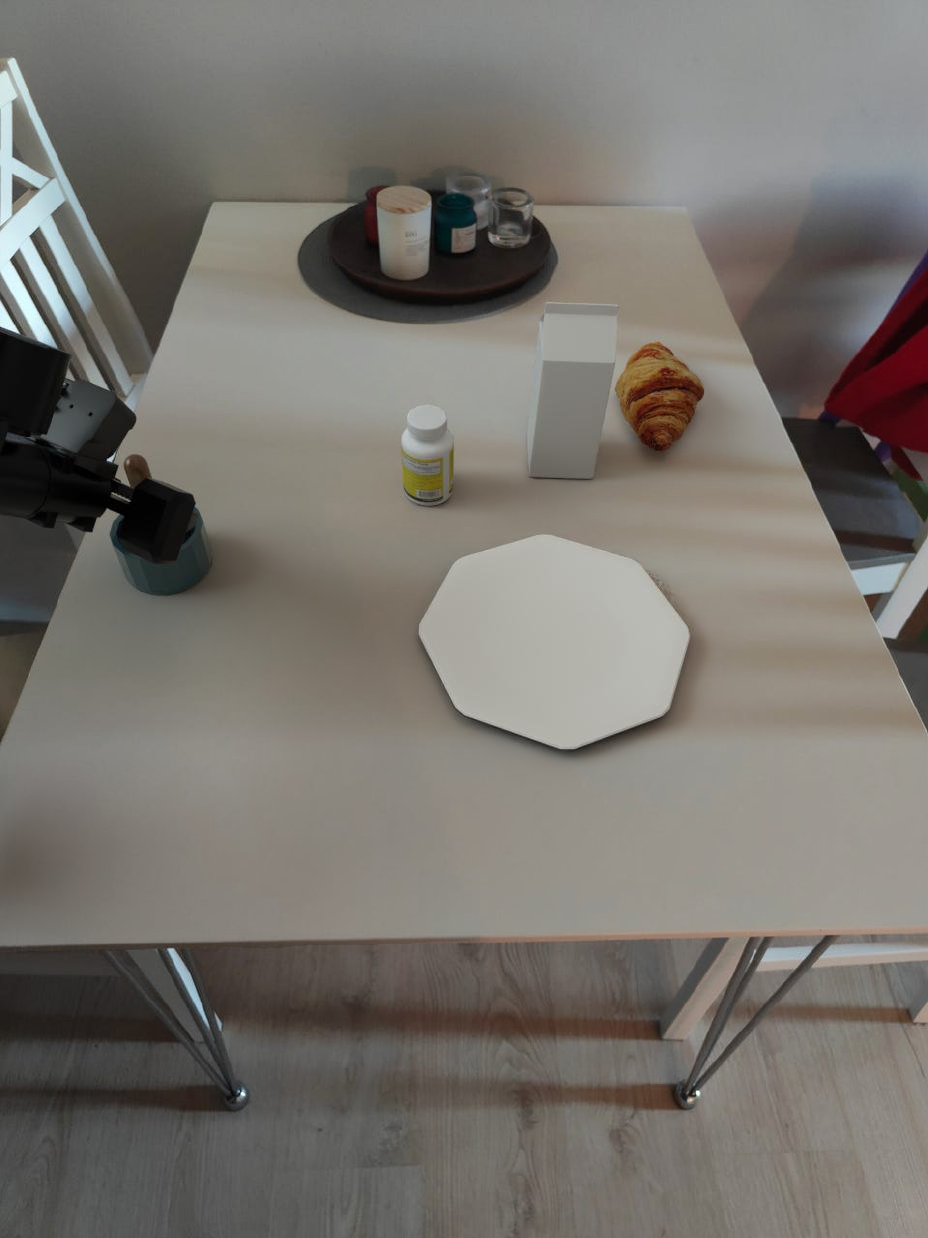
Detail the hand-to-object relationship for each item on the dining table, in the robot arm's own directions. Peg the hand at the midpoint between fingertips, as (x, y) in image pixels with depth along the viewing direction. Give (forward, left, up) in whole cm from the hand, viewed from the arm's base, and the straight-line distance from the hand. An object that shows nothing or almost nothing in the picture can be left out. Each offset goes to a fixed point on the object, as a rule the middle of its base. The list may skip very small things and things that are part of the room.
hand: (156, 502), depth 79 cm
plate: (+37, -12, -8) cm, 39 cm away
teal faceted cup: (0, -1, -7) cm, 8 cm away
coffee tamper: (0, -1, -7) cm, 7 cm away
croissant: (+54, +23, -8) cm, 59 cm away
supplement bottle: (+26, +9, -8) cm, 28 cm away
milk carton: (+41, +14, -8) cm, 44 cm away
